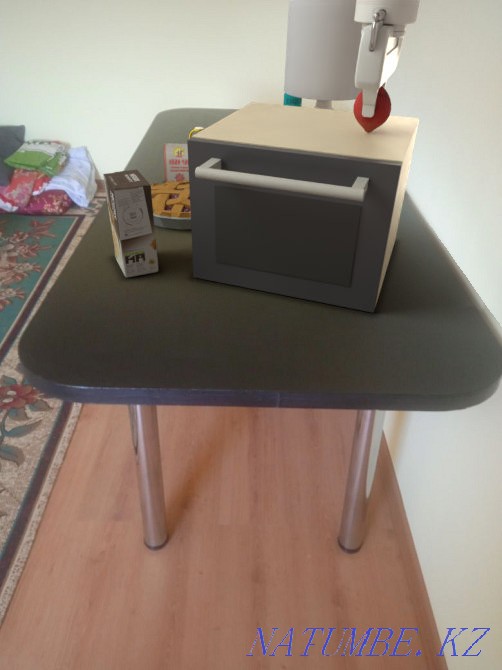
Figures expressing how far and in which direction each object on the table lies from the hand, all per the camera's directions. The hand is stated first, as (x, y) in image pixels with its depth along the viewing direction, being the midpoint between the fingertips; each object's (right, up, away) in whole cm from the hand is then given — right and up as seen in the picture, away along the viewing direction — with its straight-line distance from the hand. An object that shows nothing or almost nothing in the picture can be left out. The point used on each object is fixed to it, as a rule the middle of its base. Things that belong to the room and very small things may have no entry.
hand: (371, 111), depth 82 cm
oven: (-9, -20, +18) cm, 29 cm away
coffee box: (-40, -23, +14) cm, 48 cm away
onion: (0, -3, +2) cm, 3 cm away
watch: (-35, +22, +77) cm, 88 cm away
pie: (-34, -8, +35) cm, 49 cm away
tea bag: (-37, +3, +50) cm, 63 cm away
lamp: (0, +13, +66) cm, 67 cm away
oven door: (-15, -30, +4) cm, 34 cm away
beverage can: (-6, +29, +88) cm, 93 cm away
